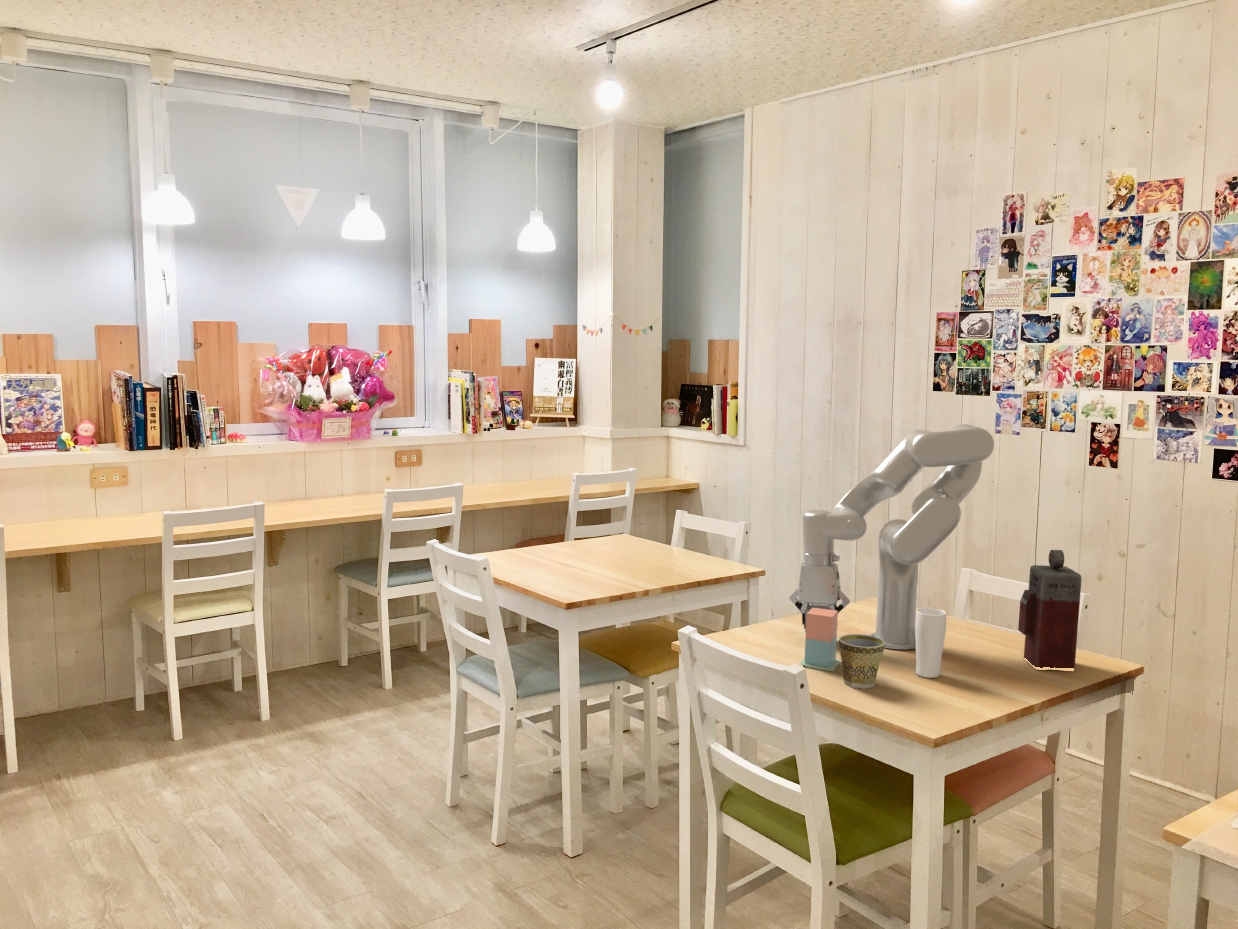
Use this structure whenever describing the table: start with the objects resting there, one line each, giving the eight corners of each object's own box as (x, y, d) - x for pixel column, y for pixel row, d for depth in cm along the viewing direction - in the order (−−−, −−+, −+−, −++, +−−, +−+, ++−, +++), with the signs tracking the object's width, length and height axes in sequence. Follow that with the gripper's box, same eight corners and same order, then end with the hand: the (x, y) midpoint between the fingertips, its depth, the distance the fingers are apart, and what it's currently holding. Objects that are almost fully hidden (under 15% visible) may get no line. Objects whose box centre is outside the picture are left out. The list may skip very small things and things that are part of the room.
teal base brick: (835, 660, 236) (836, 635, 235) (830, 667, 231) (831, 642, 230) (810, 656, 238) (811, 632, 238) (804, 663, 233) (805, 638, 232)
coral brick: (811, 632, 238) (812, 607, 237) (836, 635, 235) (837, 610, 235) (805, 638, 232) (806, 613, 232) (831, 642, 230) (832, 616, 229)
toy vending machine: (1013, 658, 242) (1021, 545, 239) (1060, 659, 241) (1069, 546, 238) (1025, 670, 233) (1034, 553, 230) (1074, 671, 233) (1084, 554, 229)
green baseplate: (840, 662, 237) (840, 659, 236) (833, 671, 229) (833, 669, 229) (807, 657, 240) (807, 654, 240) (799, 666, 233) (799, 664, 232)
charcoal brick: (834, 628, 254) (833, 605, 254) (828, 634, 249) (828, 611, 248) (811, 626, 257) (810, 603, 256) (805, 632, 251) (804, 609, 251)
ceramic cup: (880, 694, 215) (882, 649, 214) (833, 688, 218) (835, 643, 217) (886, 676, 227) (888, 633, 226) (841, 670, 231) (843, 628, 229)
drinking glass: (927, 681, 224) (931, 616, 222) (906, 672, 230) (909, 609, 228) (949, 677, 227) (953, 613, 225) (927, 668, 233) (931, 606, 231)
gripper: (856, 557, 250) (856, 627, 253) (789, 554, 258) (790, 622, 260) (849, 564, 244) (850, 635, 246) (781, 560, 251) (782, 629, 253)
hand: (819, 627), depth 253 cm, fingers closed on charcoal brick, 6 cm apart
